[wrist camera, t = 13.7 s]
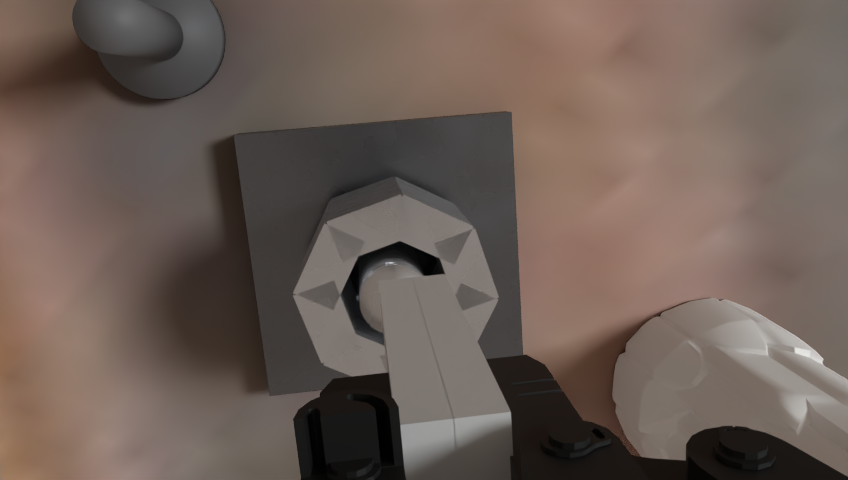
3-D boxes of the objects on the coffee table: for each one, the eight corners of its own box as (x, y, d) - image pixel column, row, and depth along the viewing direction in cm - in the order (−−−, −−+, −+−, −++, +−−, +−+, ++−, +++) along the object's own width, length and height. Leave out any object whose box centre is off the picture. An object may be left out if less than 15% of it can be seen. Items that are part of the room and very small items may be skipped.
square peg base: (238, 133, 35) (199, 147, 26) (505, 111, 36) (553, 117, 27) (273, 384, 38) (248, 471, 29) (517, 356, 39) (564, 432, 30)
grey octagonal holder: (349, 155, 33) (348, 169, 27) (495, 222, 34) (524, 249, 28) (284, 300, 34) (269, 343, 28) (427, 359, 35) (441, 412, 29)
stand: (89, -24, 33) (6, -60, 25) (216, -32, 33) (173, -69, 25) (112, 103, 34) (39, 107, 26) (233, 93, 34) (197, 94, 27)
